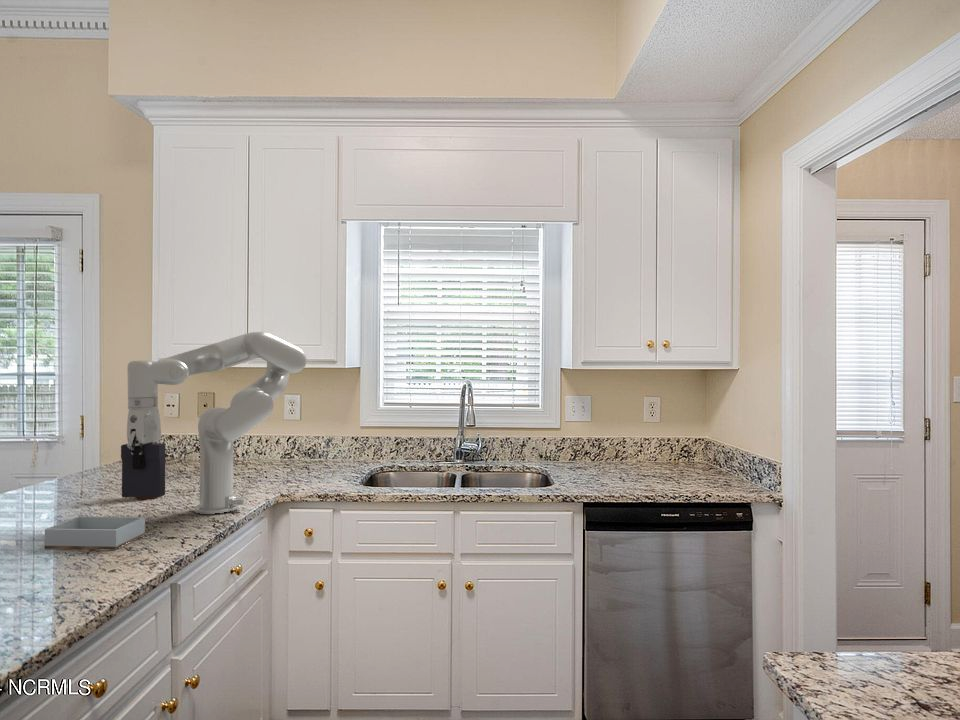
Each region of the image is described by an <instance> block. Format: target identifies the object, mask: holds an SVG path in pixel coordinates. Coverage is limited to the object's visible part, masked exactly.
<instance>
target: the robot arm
mask: <svg viewBox="0 0 960 720" xmlns="http://www.w3.org/2000/svg"><path fill="white" fill-rule="evenodd" d="M255 359H261V360H264V361H265V362H266V369H265V372H264V373H263V374H262V376H260V377H259V378H258V379H256V380H255V381H254V382H252V383H250V384H248V386H246V387H245V388H243V389H241V390H240V391H238V392H236V393H235V395H233V397H232V398H231V400H230V406H229V407H227V408H225V407H224V408H223V407H211V408H208V409H206V410H204V412H202V414H201V415H200V416H199V419H198V423H197V430H198V439H199V452H200V454H199V455H200V456H199V504H198V505H194V507H193V512H194V513H196V514H199V513H200V515H216V514H215V513H220V514H225V513H224V512H227V513H231V512H233V511H237V510H238V508H239V506H245V505H246V502H247V501H246V498H245V497H237V493H236V492H235V493H234V456H235V455H234V453H235V451H234V443H233V441H235V440H237V439H239V438H242V437H243V436H244V435H245V434H246V433H248V432H250V431H251V430H252V429H254V428H256V427H257V426H259V425H260V424H261V423H262V422H263V421H265V420H266V419H267V418H268V417H269V416H270V415H271V413H272V412H273V409H274V405H275V402H274V401H275V400H276V399H278V398H279V397H280V396H281V395H282V394H283V393H284V392H285V391H286V388H287V387H288V384H289V378H290V374H296V373H297V374H298V373H300V372H301V371H303V370H304V369H305V367H306V364H307V362H308V361H307V355H306V354H305V352H304V351H303V350H302V349H301V348H300V347H297V346H296V345H294V344H291V343H290V342H287V341H285V340H283V339H281V338H280V337H278V336H275V335H273V334H271V333H268V332H265V331H255V332H254V331H253V332H247V333H243V334H240V335H237V336H234V337H230V338H228V339H224V340H222V341H217V342H215V343H210V344H207V345H205V346H201V347H198V348H195V349H192V350H188V351H184V352H181V353H177V354H175V355H172V356H168V357H165V358H162V359H160V360H157V361H154V360H131V361H129V362H128V363H127V410H128V414H127V423H126V441H127V443H126V444H127V447H128V448H129V449H130V450H131V454H132V455H133V469H144V468H145V455H143V451H144V444H149V443H158V441H161V439H162V425H161V415H160V410H159V401H158V395H159V393H158V387H159V386H158V385H165V386H166V385H169V386H179V385H181V384H182V383H184V382H185V381H186V380H187V379H188V378H189V377H190V376H195V375H197V374H202V373H213V372H218V371H222V370H225V369H228V368H231V367H234V366H237V365H240V364H243V363H246V362H249V361H252V360H255ZM136 443H141V444H136ZM137 446H140V449H139V448H138V447H137ZM230 511H231V512H230Z"/></svg>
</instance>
